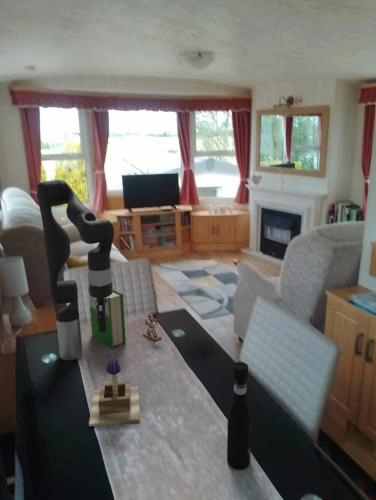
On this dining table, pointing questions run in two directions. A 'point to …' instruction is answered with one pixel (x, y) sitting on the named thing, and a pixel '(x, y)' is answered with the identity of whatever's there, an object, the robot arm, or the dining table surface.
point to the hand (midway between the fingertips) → (103, 325)
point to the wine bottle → (239, 421)
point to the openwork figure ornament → (148, 333)
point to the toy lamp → (114, 374)
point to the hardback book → (110, 320)
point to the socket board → (115, 405)
